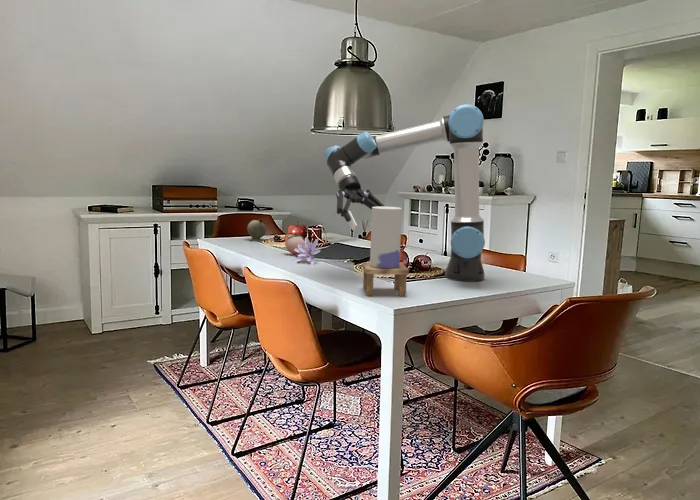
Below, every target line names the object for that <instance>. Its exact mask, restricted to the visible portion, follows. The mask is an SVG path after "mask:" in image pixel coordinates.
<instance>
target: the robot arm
mask: <svg viewBox="0 0 700 500" xmlns="http://www.w3.org/2000/svg"><path fill="white" fill-rule="evenodd" d="M484 119H485V118H484V115H483V113H482V111H481V110H480V109H479V108H478V107H477V106H475V105H473V104H470V103H465V104H460V105H458V106H457V107H455V108H453V110H452V111H451V112H450V114H449V115H444V116H441V118H440V119H439V120H435V121H432V122H428V123H423V124H420V125H415V126H412V127H411V126H410V127H407V128H403V129H399V130H394V131H391V132H386V133H382V134H378V135H375V136H374V135H373V136H372V135H371V133H370V132H369V131H365V130H364V132H361V133H360V134H357V136H355V138H353V139H351V140H350V141H349V142H347V143H346V144H345V145H343V146H339V145H333V146H329V147H328V148H327V149H326V150H325V152H324V155H323V157H324V160H325V162H326V165H327V167H328V168H329V170H330V172H331V175H333V178H334V180H335V182H336V184H337V186H338V189H339V190H338V191H337V192H336V194H335V196H336V214H338V215H340V216H341V217H342V218H343V217H344V219H345V222H347V223H348V225H349V228H350V229H351V230H352V231H355V229H356V228H358V224H357V222H356V220H355V218H354V216H353V214H352V211H351V210H349V208H350V205H351V203H352V204H361V205H365V206H366V207H367V208H368V209H370V210H371V211H372V207H378V206H385V205H384V204H383V203H382V202H381V201H380V200H379V199H378V198H377V197H376V196H374V194H373V193H372V192H371V190H369V189H366V190H362V187H361V186H362V185H361V183H360V181H359V179H358V177H357V175H356V173H355V171H354V170H353V169H354V168H353V167H352V165H354V164H355V163H357V162H358V161H360V160H361V159H365V160H366V159H371V158H372V157H373V158H374V157H376V156H377V157H378V156H382V155H384V154H388V153H394V152H397V151H404V150H406V149H410V148H411V149H412V148H414V147H419V146H423V145H429V144H432V143H436V142H437V143H438V142H441V141H445V142H446V143H448V142H449V146H450V147H452V149H453V161H454V162H453V165H454V166H453V167H454V168H453V169H454V171H453V172H454V174H453V175H454V213H455V214H454V217H453V218H452V219H451V220H450V234H451V235H450V247H451V248H450V259H449V260H448V263H447V266H446V268H445V273H444V274H445V275H444V277H445V278H446V279H449V280H452V281H453V280H454V281H460V282H480V281H481V282H482V281H484V280H485V270H484V267H483V263H482V251H483V250H484V248H485V244H486V241H485V240H486V239H485V235H484V234H485V232H484V231H485V225H484V224H485V223H484V220H485V219H483V218H482V217H481V215H480V171H479V170H480V165H479V164H480V162H479V161H480V159H479V157H480V156H479V153H480V151H479V148H480V147H481V146H482V145H483V143H484V128H483V127H484V121H485V120H484ZM344 198H345V199H346V202H345V204H344Z"/></svg>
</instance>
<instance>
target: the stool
mask: <svg viewBox="0 0 700 500" xmlns="http://www.w3.org/2000/svg"><path fill="white" fill-rule="evenodd" d="M361 264H362V269H363V282H362V283H363V287H362V288H363V290H366V291H365V292H366V293H365V294H366V295H365V296H366V297H373V296H374V275H394V281H393V282H394V286H393V288H394V290H396V291H398V296H399V297H406V296H407V277H408V276H409V273H410V270H409V269H408V268H407V266H406V265H405V264H403V262H400V264H399V267H397V268H376V267H372V266H370V262H362V263H361Z"/></svg>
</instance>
